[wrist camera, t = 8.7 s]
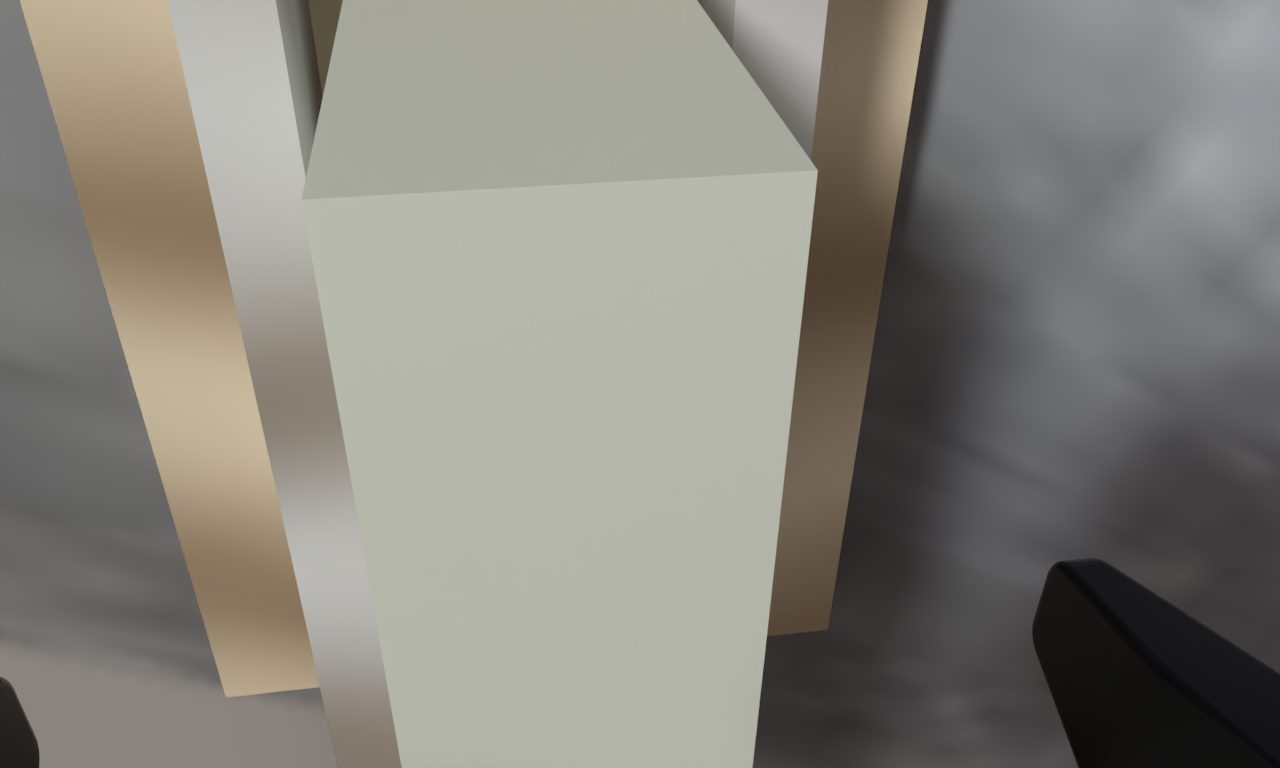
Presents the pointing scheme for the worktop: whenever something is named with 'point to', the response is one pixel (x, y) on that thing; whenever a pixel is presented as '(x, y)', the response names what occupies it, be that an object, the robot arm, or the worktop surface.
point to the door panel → (561, 370)
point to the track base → (292, 321)
